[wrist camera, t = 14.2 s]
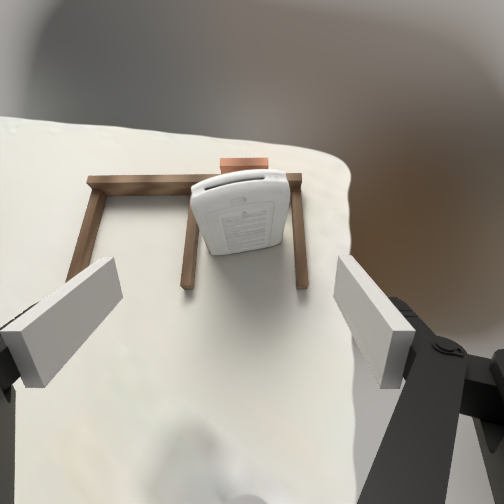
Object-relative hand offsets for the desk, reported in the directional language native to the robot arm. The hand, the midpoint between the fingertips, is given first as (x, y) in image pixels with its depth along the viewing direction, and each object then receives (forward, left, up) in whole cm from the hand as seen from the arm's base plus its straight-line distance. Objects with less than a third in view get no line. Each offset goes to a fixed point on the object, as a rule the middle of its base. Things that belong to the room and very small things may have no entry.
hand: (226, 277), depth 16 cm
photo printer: (0, +11, -17) cm, 20 cm away
